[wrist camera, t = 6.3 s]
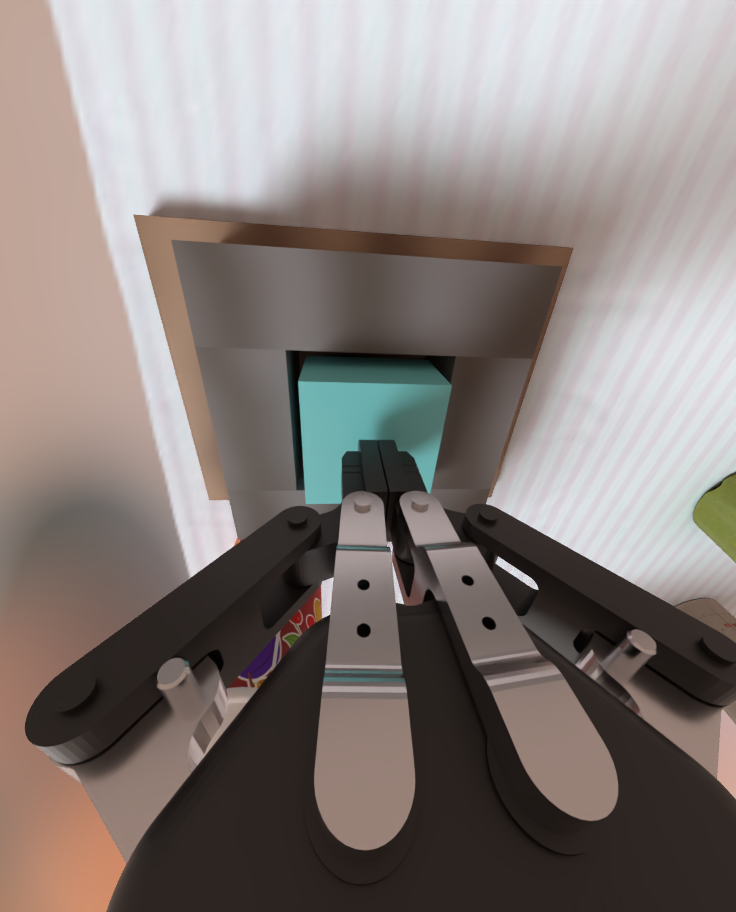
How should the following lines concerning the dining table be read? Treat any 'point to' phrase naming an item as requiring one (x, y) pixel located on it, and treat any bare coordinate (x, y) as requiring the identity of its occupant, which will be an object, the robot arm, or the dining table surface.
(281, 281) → the button console
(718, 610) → the thermos bottle
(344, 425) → the button plunger
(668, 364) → the dining table surface
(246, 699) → the smoothie
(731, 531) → the plant pot
